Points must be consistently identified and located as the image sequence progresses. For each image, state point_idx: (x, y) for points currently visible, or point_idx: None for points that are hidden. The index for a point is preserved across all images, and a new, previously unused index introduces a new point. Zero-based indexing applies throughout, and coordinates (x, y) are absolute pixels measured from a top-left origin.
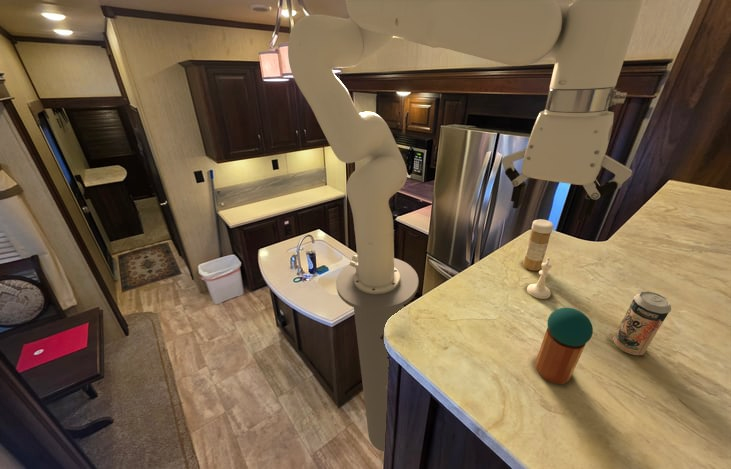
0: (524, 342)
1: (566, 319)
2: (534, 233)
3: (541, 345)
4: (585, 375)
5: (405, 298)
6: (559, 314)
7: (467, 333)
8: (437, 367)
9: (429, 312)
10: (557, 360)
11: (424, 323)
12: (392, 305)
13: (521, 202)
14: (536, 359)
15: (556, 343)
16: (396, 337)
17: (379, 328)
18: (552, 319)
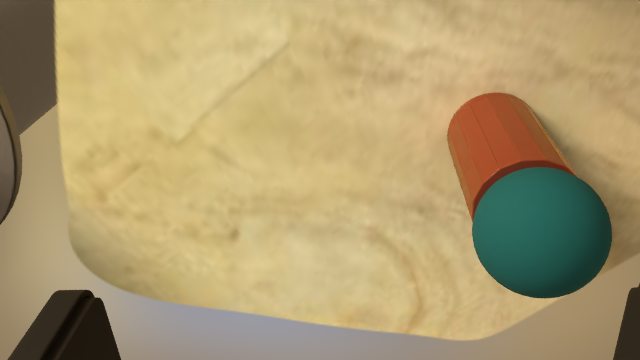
0: (401, 83)
1: (534, 293)
2: None
3: (460, 184)
4: (573, 94)
5: (5, 150)
6: (510, 277)
7: (250, 157)
8: (254, 289)
9: (110, 153)
10: None
11: (133, 200)
12: (7, 201)
13: (99, 319)
14: (450, 151)
15: None
16: (118, 280)
17: (20, 133)
18: (489, 271)
